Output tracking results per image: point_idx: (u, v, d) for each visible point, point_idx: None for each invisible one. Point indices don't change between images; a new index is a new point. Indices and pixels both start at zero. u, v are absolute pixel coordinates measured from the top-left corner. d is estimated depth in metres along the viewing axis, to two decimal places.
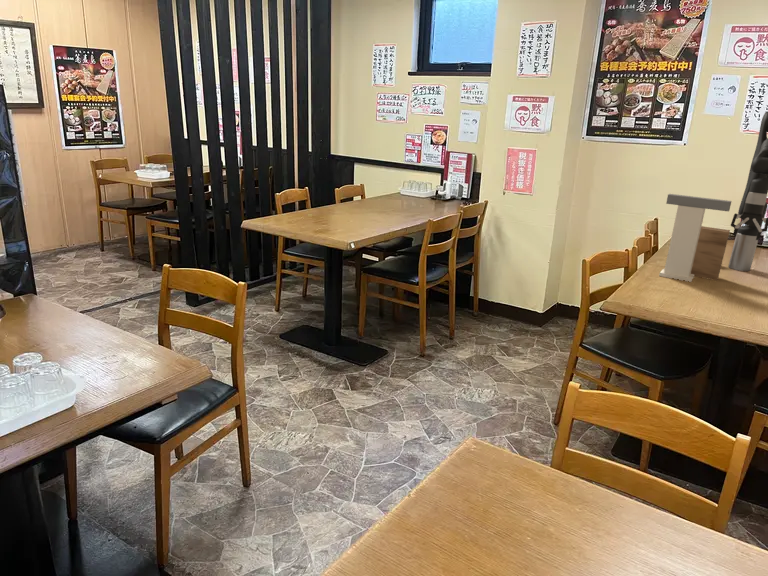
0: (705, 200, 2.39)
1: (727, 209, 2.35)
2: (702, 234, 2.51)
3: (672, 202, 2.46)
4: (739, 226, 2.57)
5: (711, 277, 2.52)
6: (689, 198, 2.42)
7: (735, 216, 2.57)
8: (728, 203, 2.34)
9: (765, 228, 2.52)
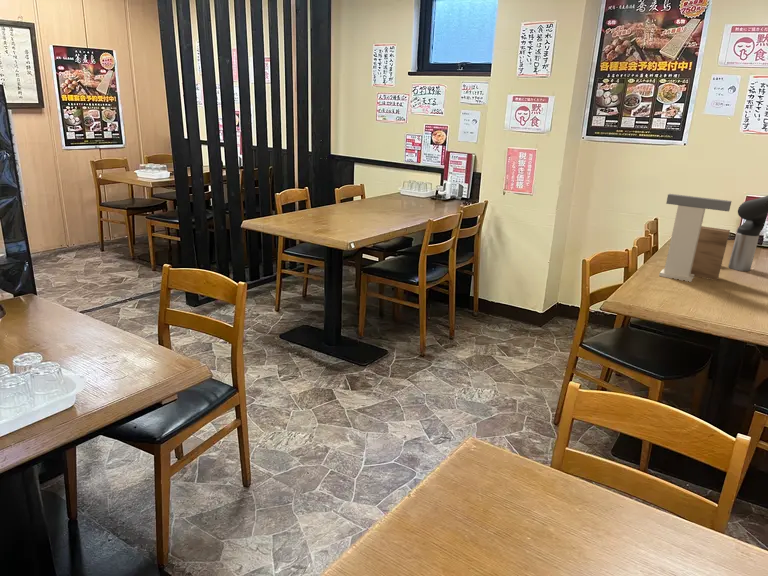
0: (705, 200, 2.39)
1: (727, 209, 2.35)
2: (702, 234, 2.51)
3: (672, 202, 2.46)
4: None
5: (711, 277, 2.52)
6: (689, 198, 2.42)
7: None
8: (728, 203, 2.34)
9: None
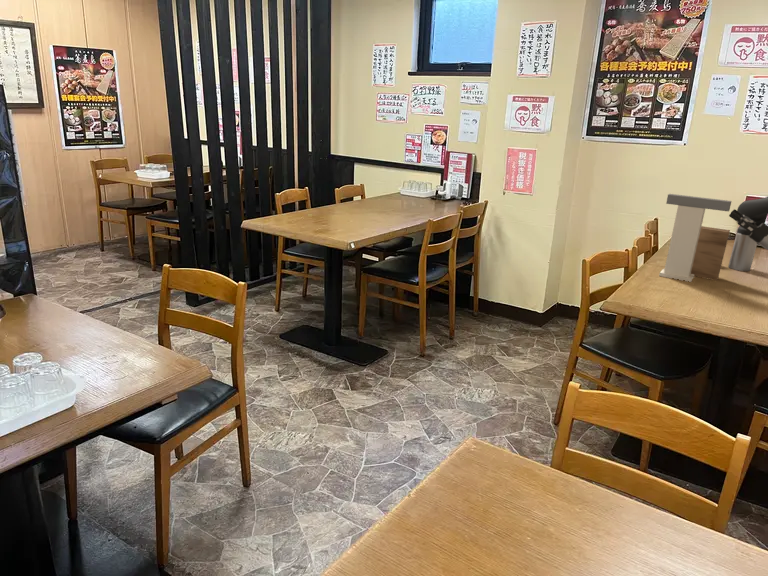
0: (705, 200, 2.39)
1: (727, 209, 2.35)
2: (702, 234, 2.51)
3: (672, 202, 2.46)
4: None
5: (711, 277, 2.52)
6: (689, 198, 2.42)
7: (747, 230, 2.29)
8: (728, 203, 2.34)
9: None
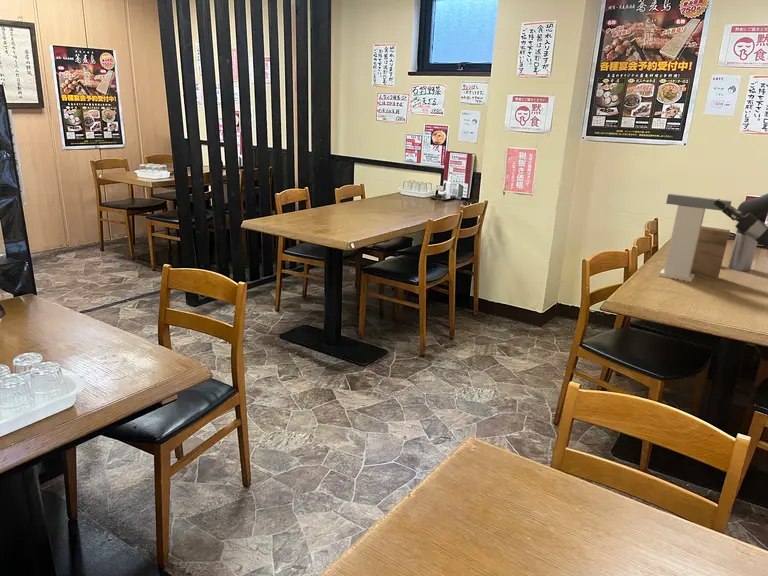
0: (705, 200, 2.39)
1: None
2: (702, 234, 2.51)
3: (672, 202, 2.46)
4: None
5: (711, 277, 2.52)
6: (689, 198, 2.42)
7: (731, 218, 2.32)
8: (728, 203, 2.34)
9: None
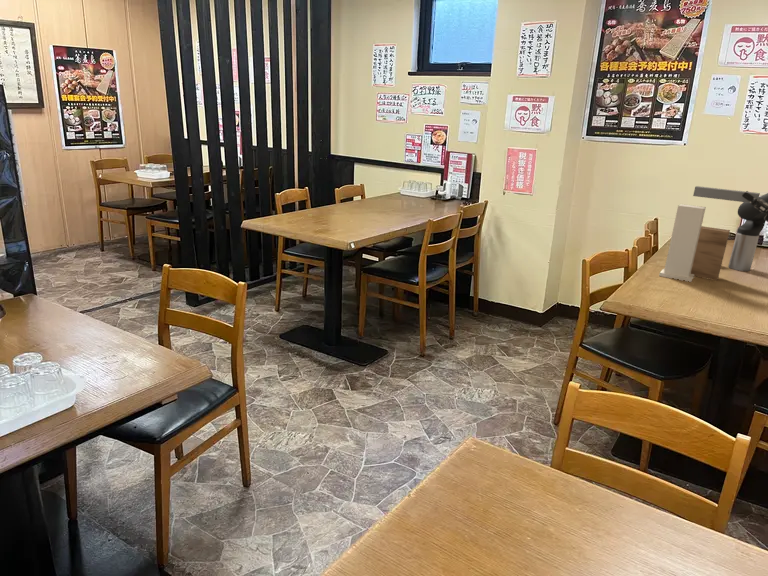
0: (733, 192, 2.38)
1: None
2: (702, 234, 2.51)
3: (699, 195, 2.46)
4: None
5: (711, 277, 2.52)
6: (717, 190, 2.42)
7: (760, 210, 2.31)
8: (757, 195, 2.34)
9: None
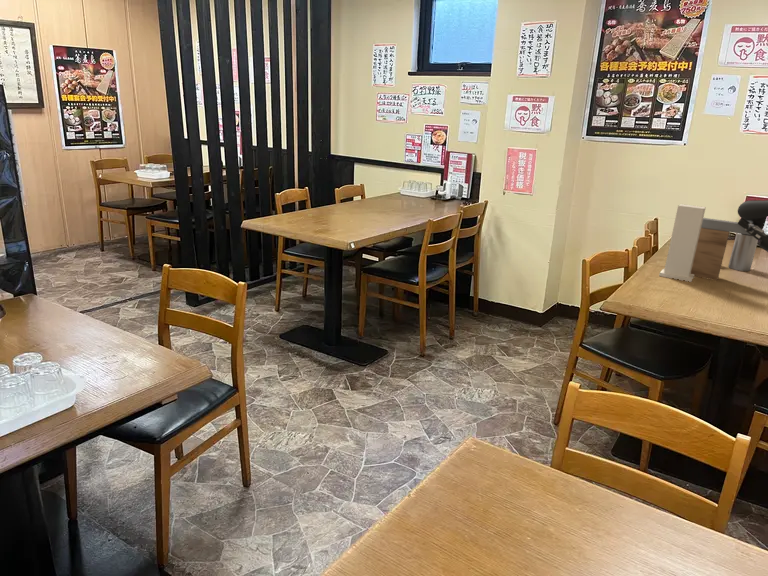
0: (728, 223, 2.45)
1: None
2: (702, 234, 2.51)
3: None
4: None
5: (711, 277, 2.52)
6: (712, 221, 2.48)
7: (755, 238, 2.37)
8: None
9: None
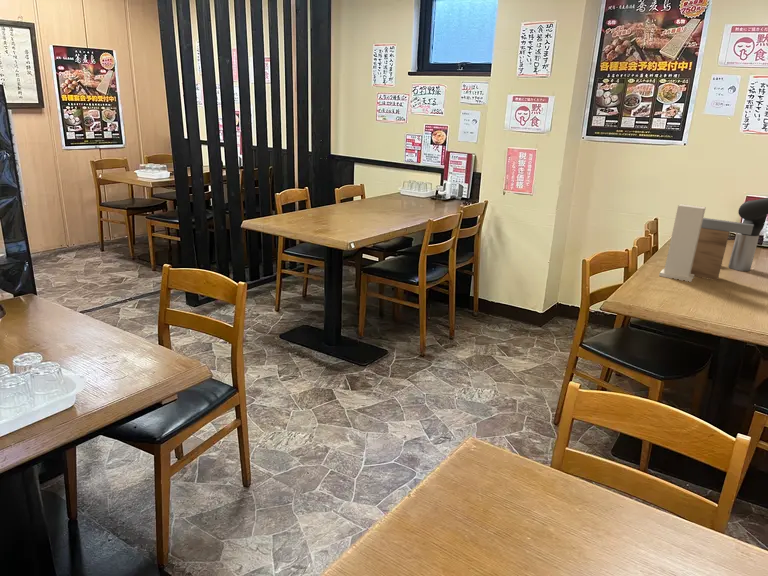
0: (728, 223, 2.45)
1: (749, 232, 2.41)
2: (702, 234, 2.51)
3: None
4: None
5: (711, 277, 2.52)
6: (712, 221, 2.48)
7: None
8: (750, 227, 2.40)
9: None
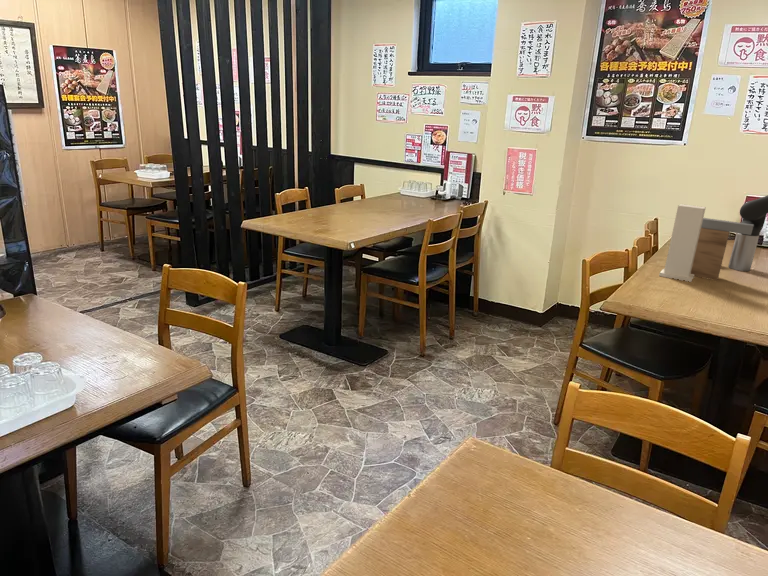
0: (728, 223, 2.45)
1: (749, 232, 2.41)
2: (702, 234, 2.51)
3: None
4: None
5: (711, 277, 2.52)
6: (712, 221, 2.48)
7: None
8: (750, 227, 2.40)
9: None
